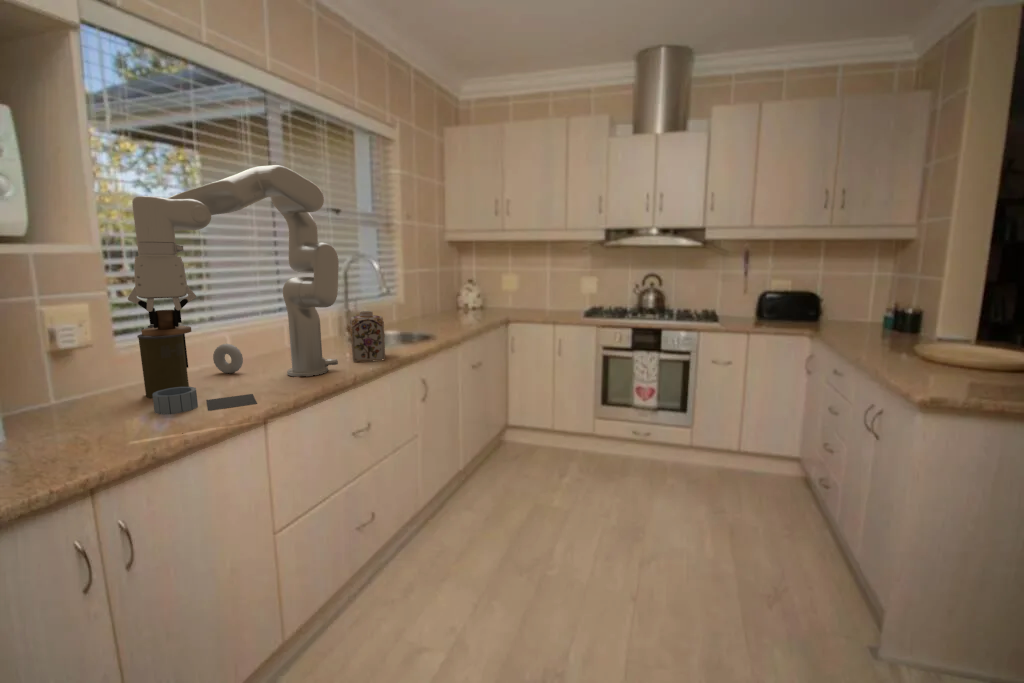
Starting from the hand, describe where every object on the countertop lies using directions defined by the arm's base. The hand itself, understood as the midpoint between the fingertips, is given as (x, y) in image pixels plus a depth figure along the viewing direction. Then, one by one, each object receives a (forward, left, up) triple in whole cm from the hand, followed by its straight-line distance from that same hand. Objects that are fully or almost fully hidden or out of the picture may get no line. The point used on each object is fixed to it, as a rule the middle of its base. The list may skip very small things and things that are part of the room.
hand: (166, 326), depth 121 cm
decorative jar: (-60, -37, -22) cm, 74 cm away
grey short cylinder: (0, 0, -22) cm, 22 cm away
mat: (-12, +1, -22) cm, 25 cm away
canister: (+2, -18, -22) cm, 28 cm away
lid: (0, 0, -2) cm, 2 cm away
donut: (-14, -38, -22) cm, 46 cm away
